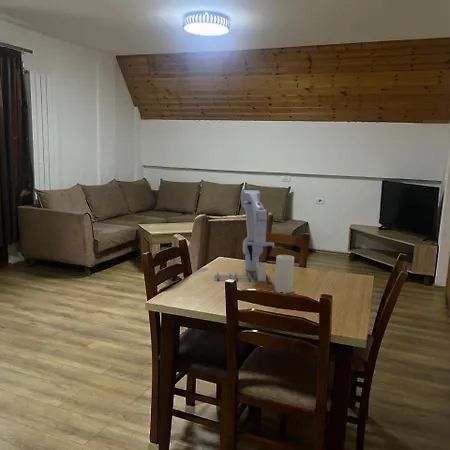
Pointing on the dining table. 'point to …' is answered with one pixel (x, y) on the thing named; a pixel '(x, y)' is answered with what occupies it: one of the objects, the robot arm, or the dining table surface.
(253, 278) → the notch rail
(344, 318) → the dining table surface
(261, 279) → the white rectangular block
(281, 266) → the cup
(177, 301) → the dining table surface
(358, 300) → the dining table surface
